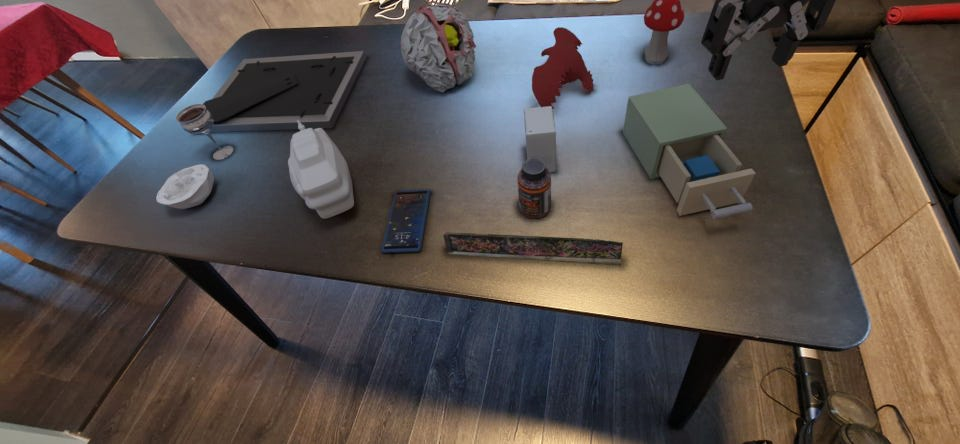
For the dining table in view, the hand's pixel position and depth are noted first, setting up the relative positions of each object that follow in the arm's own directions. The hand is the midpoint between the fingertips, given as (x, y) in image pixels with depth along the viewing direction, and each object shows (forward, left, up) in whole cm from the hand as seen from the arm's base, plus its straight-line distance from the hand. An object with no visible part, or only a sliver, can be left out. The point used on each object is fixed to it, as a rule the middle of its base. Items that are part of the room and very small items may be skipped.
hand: (747, 69), depth 57 cm
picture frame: (+99, +37, -26) cm, 109 cm away
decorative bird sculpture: (+40, -11, -26) cm, 49 cm away
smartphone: (+36, +40, -26) cm, 60 cm away
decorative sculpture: (+69, +4, -26) cm, 74 cm away
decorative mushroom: (+31, -33, -26) cm, 52 cm away
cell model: (+78, +69, -26) cm, 107 cm away
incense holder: (+13, +30, -26) cm, 42 cm away
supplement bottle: (+20, +21, -26) cm, 39 cm away
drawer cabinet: (+11, -8, -26) cm, 29 cm away
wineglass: (+89, +59, -26) cm, 110 cm away
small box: (+28, +11, -26) cm, 40 cm away
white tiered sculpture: (+53, +47, -26) cm, 76 cm away
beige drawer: (0, 0, -25) cm, 25 cm away
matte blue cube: (+2, -1, -24) cm, 24 cm away
